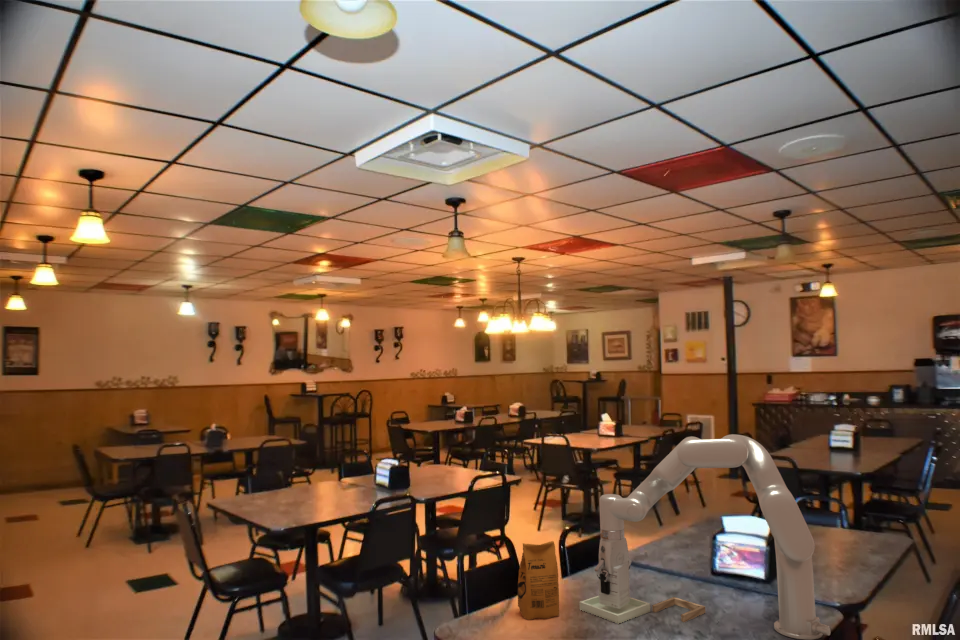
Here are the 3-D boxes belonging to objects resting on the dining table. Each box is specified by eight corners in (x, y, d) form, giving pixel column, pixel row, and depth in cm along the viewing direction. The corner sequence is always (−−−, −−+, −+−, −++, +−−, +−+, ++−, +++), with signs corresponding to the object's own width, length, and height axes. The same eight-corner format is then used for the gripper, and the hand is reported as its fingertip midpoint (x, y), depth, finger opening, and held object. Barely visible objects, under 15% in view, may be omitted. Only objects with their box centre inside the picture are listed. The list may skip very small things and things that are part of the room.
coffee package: (515, 610, 204) (514, 539, 206) (552, 606, 207) (550, 537, 209) (523, 621, 195) (521, 547, 197) (562, 618, 197) (560, 545, 199)
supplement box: (609, 597, 208) (609, 557, 208) (630, 602, 203) (629, 562, 204) (598, 603, 202) (597, 563, 203) (619, 609, 197) (618, 568, 198)
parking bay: (705, 613, 199) (705, 606, 199) (684, 622, 192) (683, 615, 192) (674, 603, 208) (673, 596, 208) (652, 611, 201) (652, 605, 201)
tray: (650, 611, 201) (650, 603, 201) (618, 624, 191) (618, 615, 191) (611, 598, 213) (611, 591, 213) (579, 610, 203) (579, 601, 204)
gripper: (603, 541, 196) (605, 600, 194) (639, 531, 207) (641, 587, 205) (585, 536, 202) (587, 593, 200) (620, 527, 213) (622, 581, 211)
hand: (614, 590), depth 203 cm, fingers closed on supplement box, 8 cm apart
